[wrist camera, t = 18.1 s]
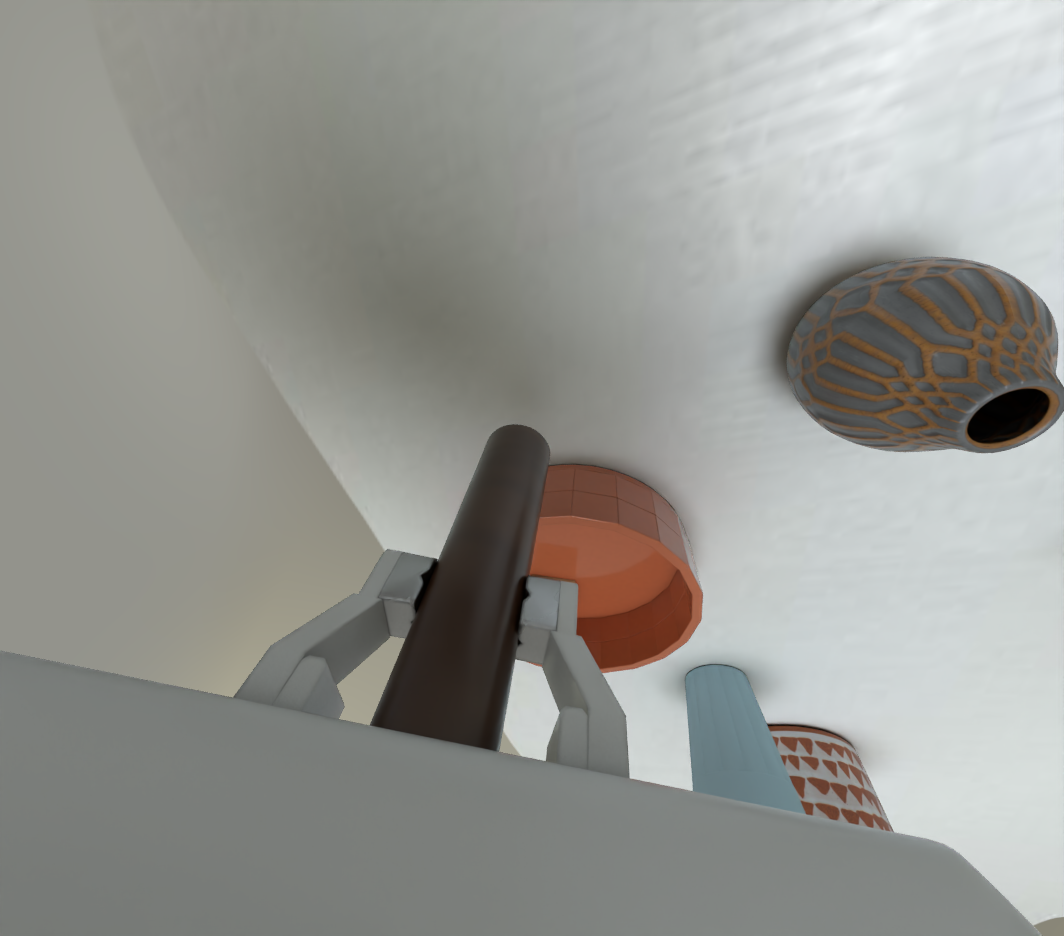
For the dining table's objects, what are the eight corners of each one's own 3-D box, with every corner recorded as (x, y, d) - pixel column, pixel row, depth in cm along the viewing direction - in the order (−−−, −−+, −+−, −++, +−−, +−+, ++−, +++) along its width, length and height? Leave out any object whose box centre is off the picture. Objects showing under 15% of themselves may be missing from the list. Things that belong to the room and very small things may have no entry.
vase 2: (833, 715, 37) (923, 913, 27) (870, 769, 43) (956, 952, 32) (696, 732, 43) (726, 899, 33) (743, 778, 49) (782, 934, 38)
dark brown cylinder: (485, 470, 18) (330, 881, 7) (488, 418, 16) (288, 861, 6) (546, 480, 17) (471, 913, 7) (554, 429, 16) (472, 903, 6)
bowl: (469, 596, 34) (452, 649, 30) (471, 445, 25) (446, 493, 21) (650, 629, 33) (657, 689, 29) (723, 487, 24) (749, 546, 20)
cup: (769, 660, 34) (826, 816, 25) (751, 702, 38) (795, 845, 30) (678, 654, 35) (703, 799, 27) (671, 694, 39) (690, 830, 31)
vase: (746, 394, 20) (826, 500, 13) (800, 245, 16) (955, 283, 9) (888, 403, 20) (1052, 520, 13) (980, 248, 16) (1298, 293, 9)
